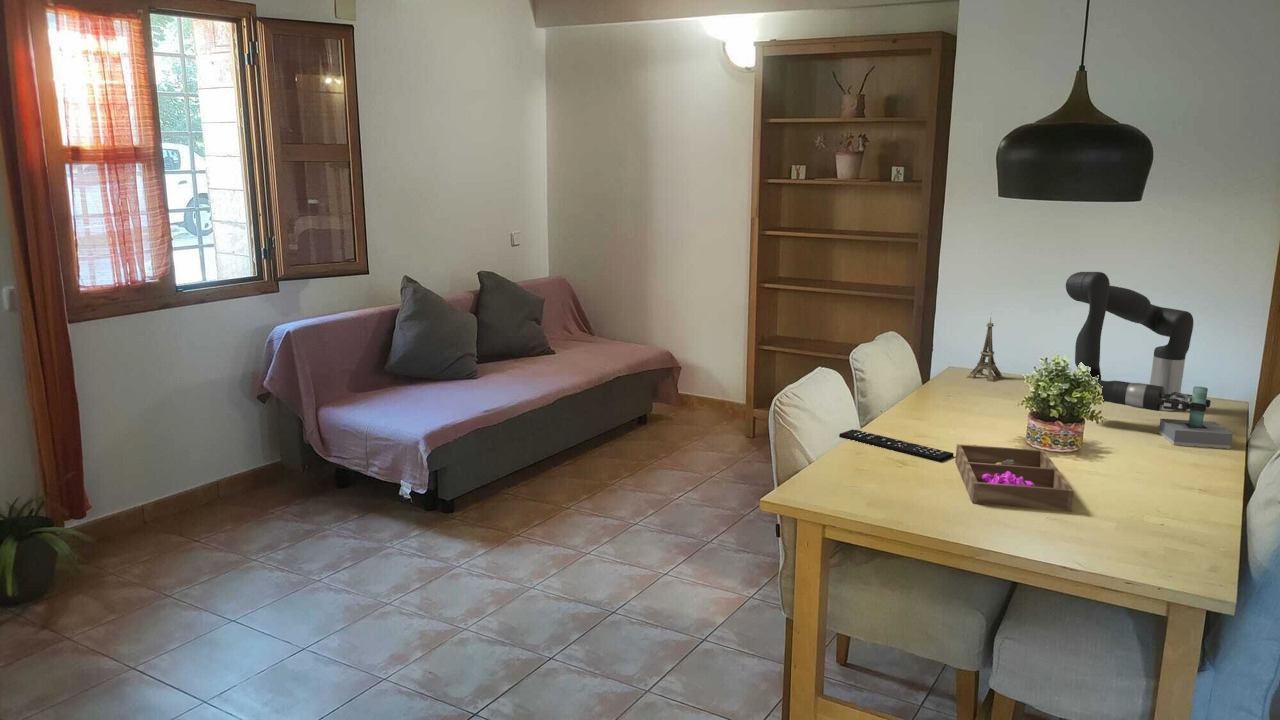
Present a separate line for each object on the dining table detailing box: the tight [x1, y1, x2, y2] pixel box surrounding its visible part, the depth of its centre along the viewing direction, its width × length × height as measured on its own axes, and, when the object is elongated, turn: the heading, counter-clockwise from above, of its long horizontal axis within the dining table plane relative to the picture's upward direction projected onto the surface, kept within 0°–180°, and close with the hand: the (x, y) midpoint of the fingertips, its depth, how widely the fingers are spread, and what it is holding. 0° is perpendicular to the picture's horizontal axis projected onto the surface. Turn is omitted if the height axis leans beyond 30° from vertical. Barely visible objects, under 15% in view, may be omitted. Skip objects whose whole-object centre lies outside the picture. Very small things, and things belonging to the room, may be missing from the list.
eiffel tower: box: [966, 312, 1005, 383], centre depth 352 cm, size 11×11×25 cm
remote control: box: [838, 428, 954, 463], centre depth 265 cm, size 8×32×2 cm, turn 45°
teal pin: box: [1188, 385, 1209, 428], centre depth 274 cm, size 4×4×15 cm
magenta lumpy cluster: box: [982, 471, 1035, 486], centre depth 225 cm, size 12×10×7 cm
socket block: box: [1158, 418, 1233, 450], centre depth 276 cm, size 13×15×4 cm
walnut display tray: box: [954, 443, 1075, 512], centre depth 234 cm, size 32×22×5 cm
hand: (1207, 406), depth 272 cm, fingers open, 6 cm apart
